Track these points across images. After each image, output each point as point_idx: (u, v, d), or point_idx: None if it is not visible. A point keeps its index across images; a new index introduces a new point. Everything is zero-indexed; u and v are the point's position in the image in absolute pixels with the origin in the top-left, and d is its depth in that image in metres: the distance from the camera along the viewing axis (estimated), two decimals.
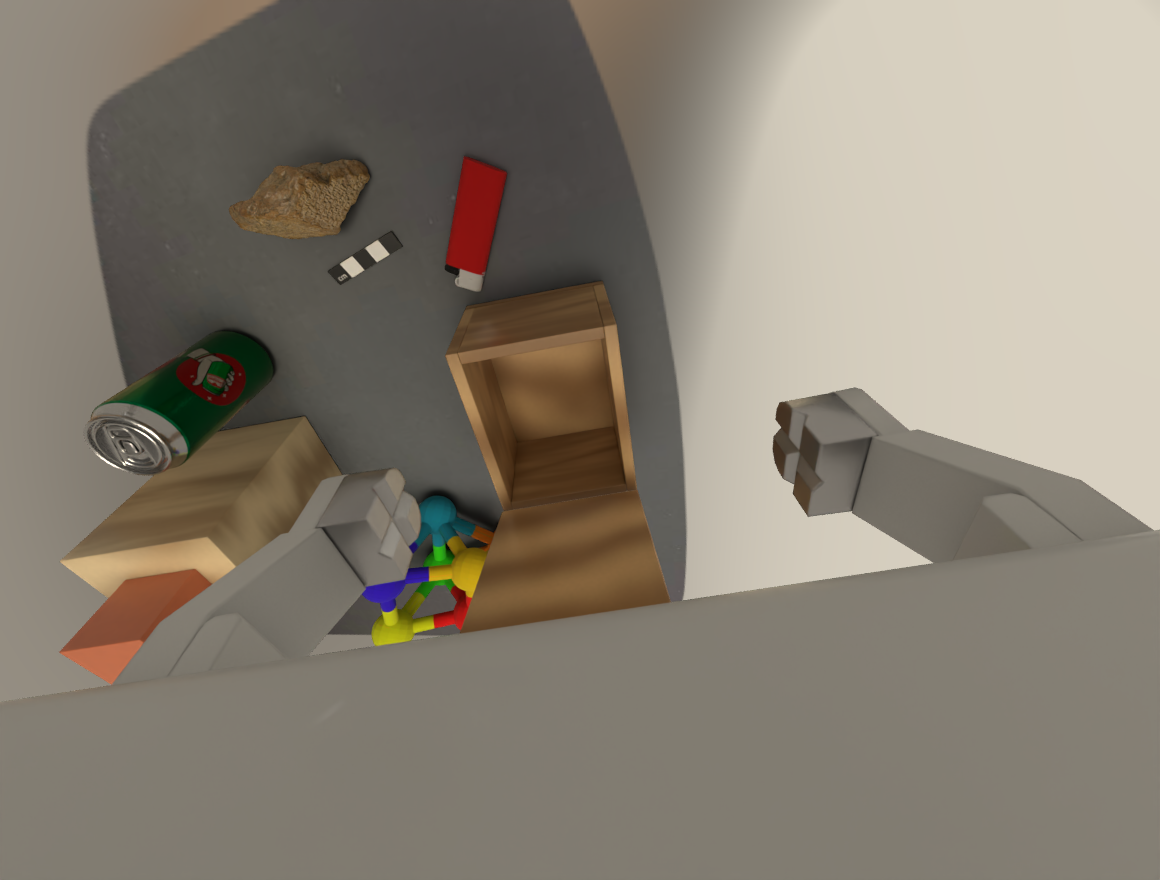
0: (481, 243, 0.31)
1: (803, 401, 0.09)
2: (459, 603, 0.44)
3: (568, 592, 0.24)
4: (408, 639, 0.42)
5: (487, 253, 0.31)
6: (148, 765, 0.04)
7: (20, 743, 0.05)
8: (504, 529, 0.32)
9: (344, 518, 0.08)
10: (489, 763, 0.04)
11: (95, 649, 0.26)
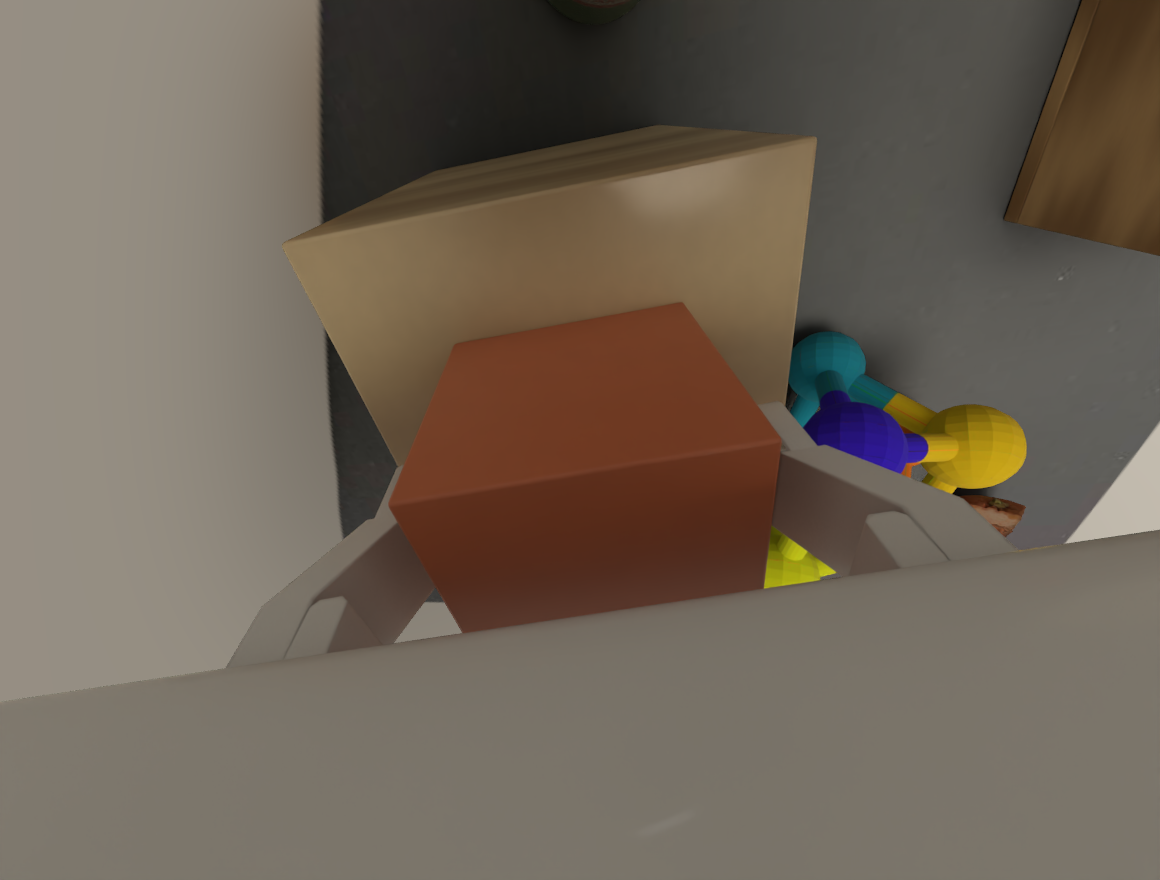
0: None
1: None
2: None
3: None
4: None
5: None
6: (148, 765, 0.04)
7: (21, 744, 0.05)
8: None
9: None
10: (489, 763, 0.04)
11: (550, 492, 0.06)
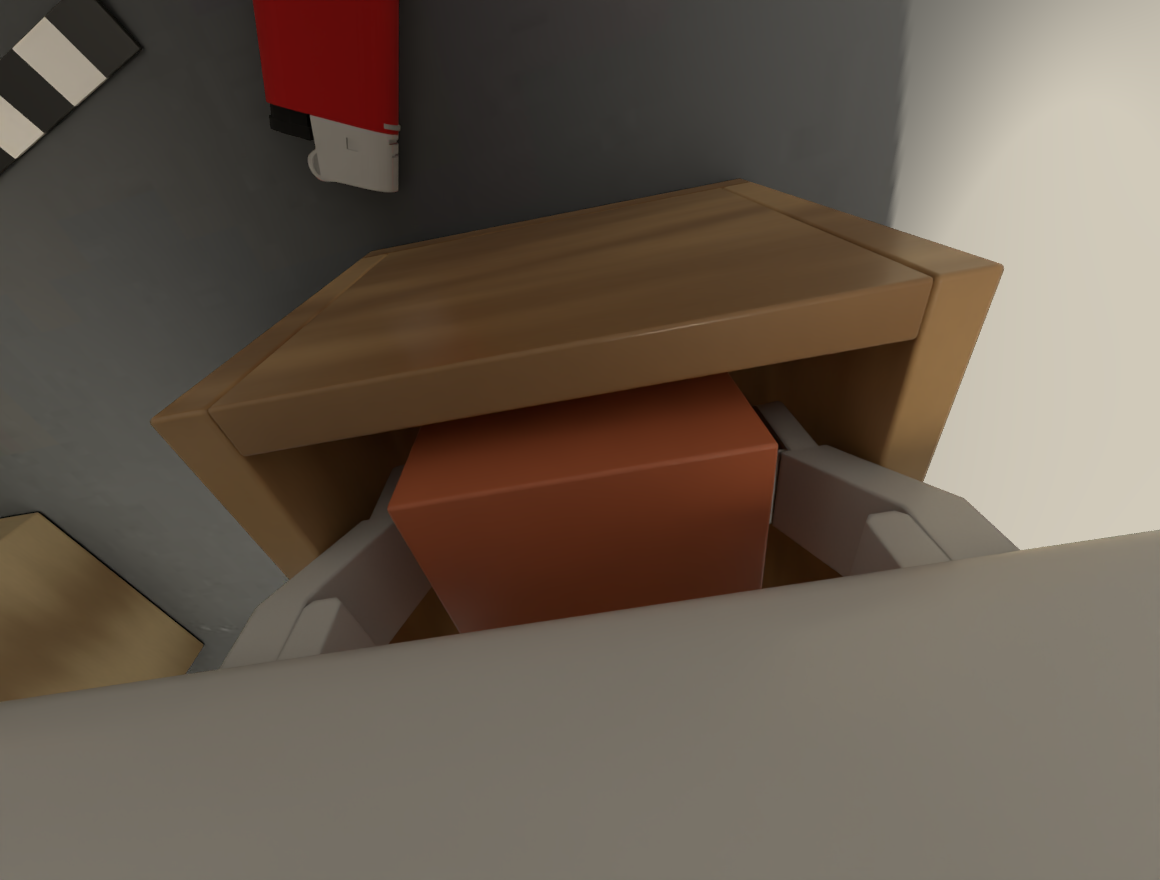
0: (356, 2, 0.09)
1: None
2: None
3: None
4: None
5: (387, 48, 0.10)
6: (148, 765, 0.04)
7: (21, 744, 0.05)
8: None
9: None
10: (489, 763, 0.04)
11: (549, 497, 0.06)
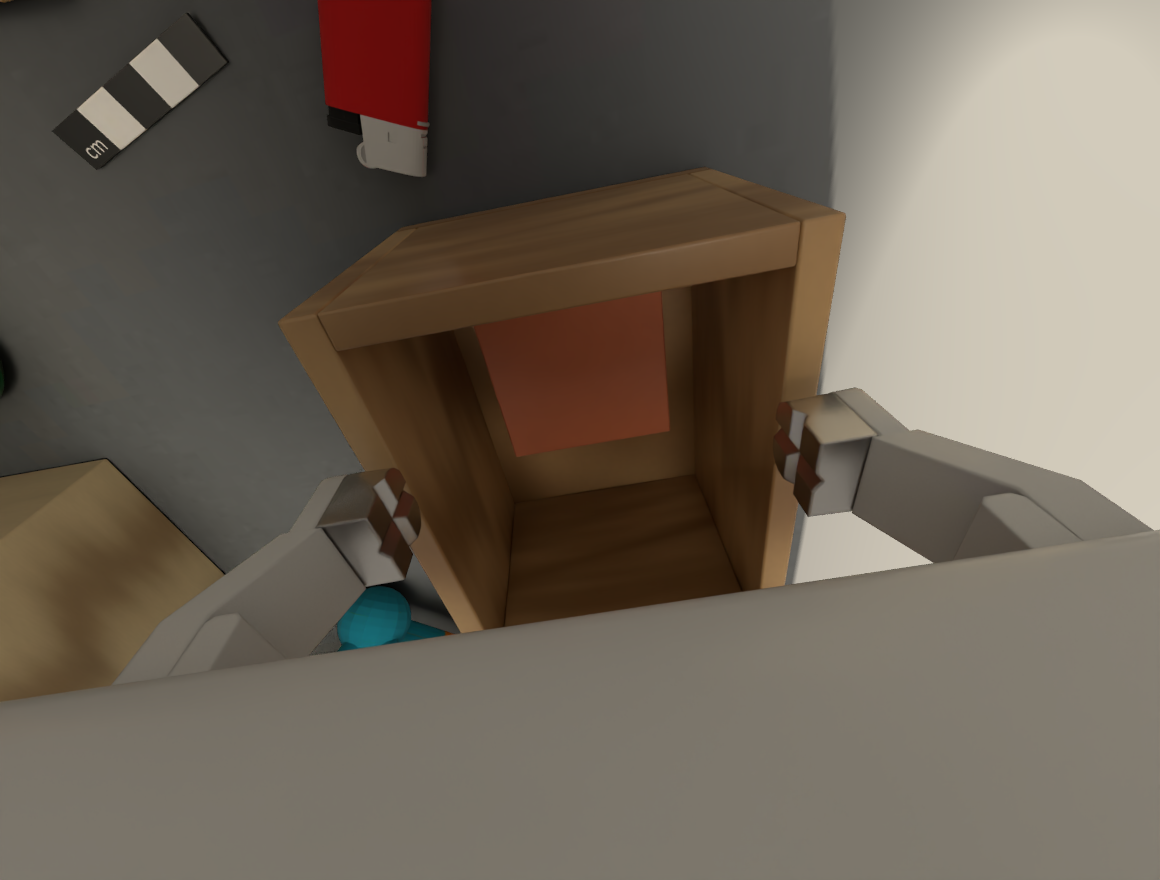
0: (400, 27, 0.12)
1: (803, 401, 0.09)
2: None
3: None
4: None
5: (422, 62, 0.12)
6: (148, 765, 0.04)
7: (22, 743, 0.05)
8: None
9: (344, 518, 0.08)
10: (489, 763, 0.04)
11: None
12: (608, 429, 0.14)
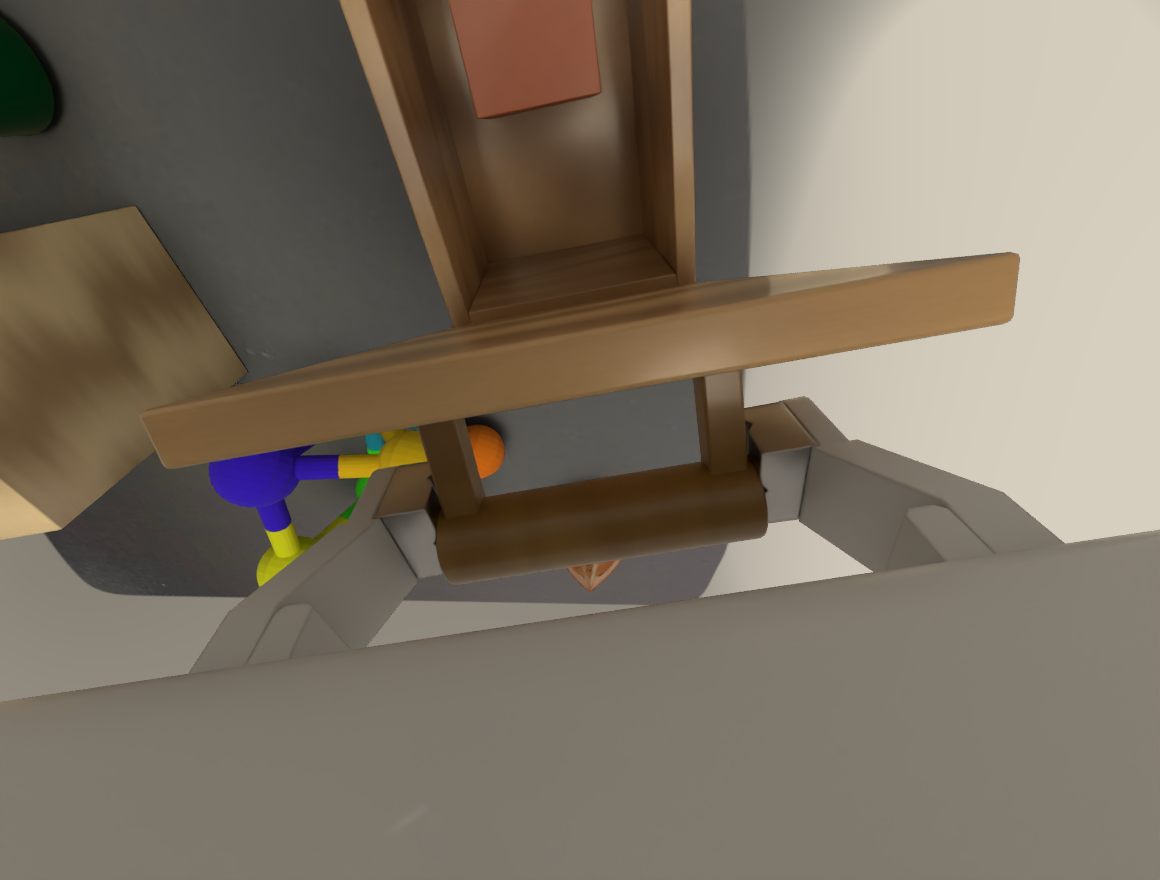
0: None
1: (751, 410, 0.09)
2: None
3: (574, 318, 0.08)
4: None
5: None
6: (148, 765, 0.04)
7: (21, 744, 0.05)
8: (446, 330, 0.16)
9: (402, 509, 0.08)
10: (489, 763, 0.04)
11: None
12: (551, 87, 0.17)
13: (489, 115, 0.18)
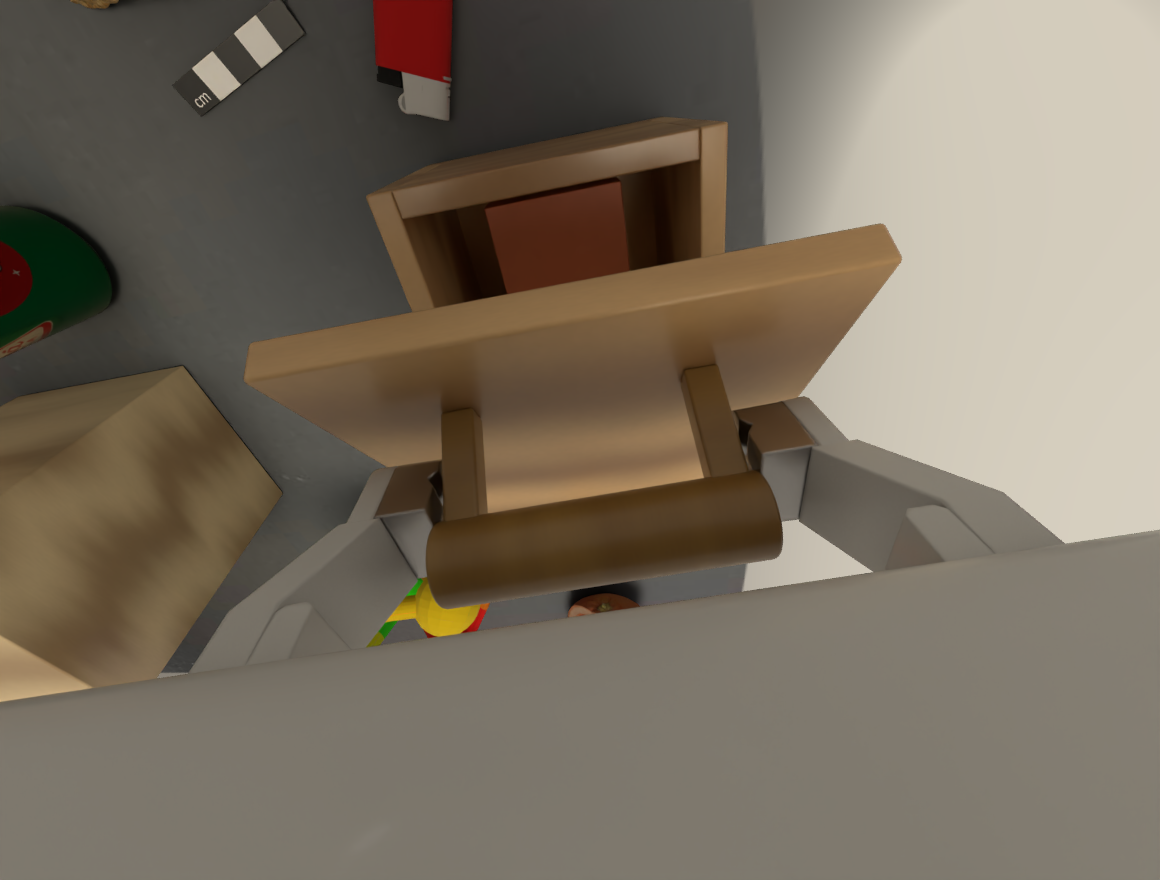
0: (431, 5, 0.16)
1: (751, 410, 0.09)
2: None
3: None
4: None
5: (446, 31, 0.17)
6: (148, 765, 0.04)
7: (21, 744, 0.05)
8: None
9: (401, 508, 0.08)
10: (489, 763, 0.04)
11: (541, 204, 0.16)
12: None
13: None
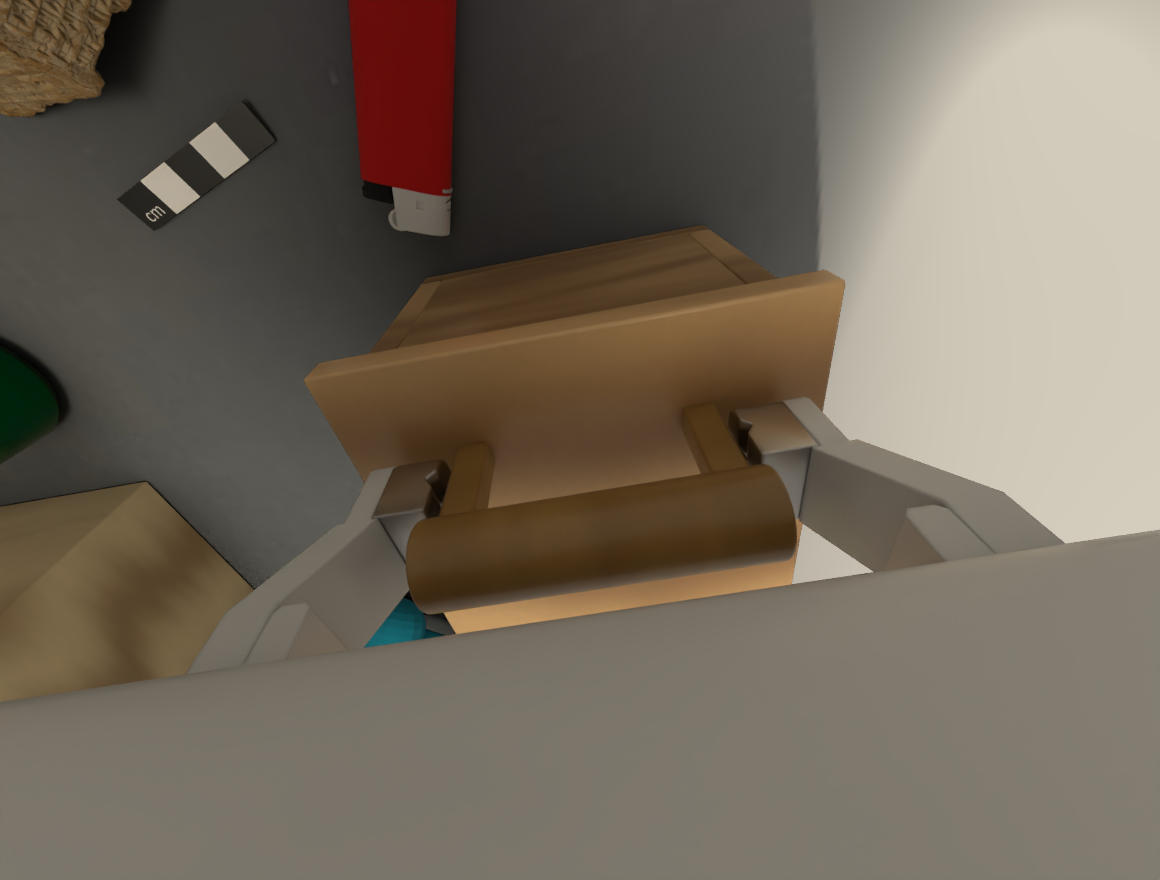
0: (427, 113, 0.13)
1: (751, 410, 0.09)
2: None
3: None
4: None
5: (446, 140, 0.14)
6: (148, 765, 0.04)
7: (21, 744, 0.05)
8: None
9: (399, 509, 0.08)
10: (489, 763, 0.04)
11: None
12: None
13: None
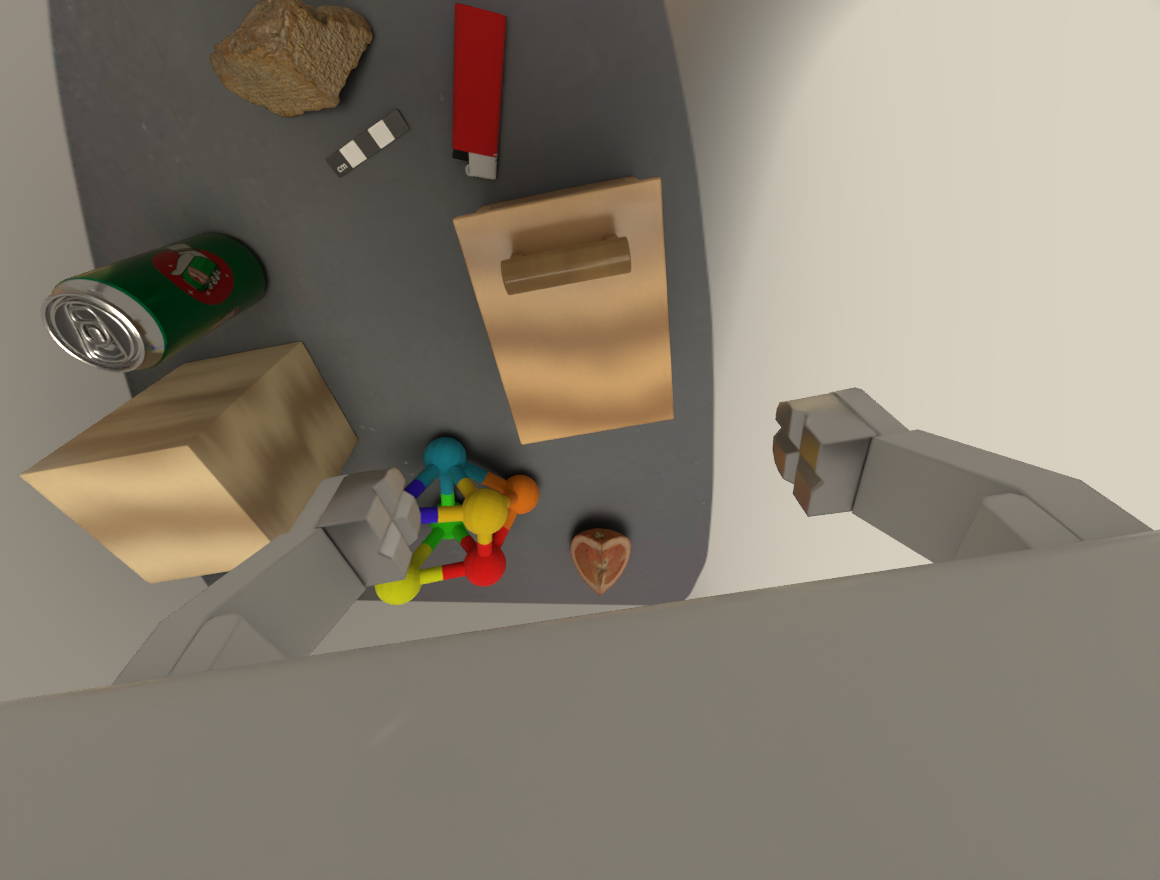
0: (488, 114, 0.27)
1: (803, 401, 0.09)
2: (470, 553, 0.40)
3: None
4: (415, 590, 0.38)
5: (496, 128, 0.28)
6: (148, 765, 0.04)
7: (22, 742, 0.05)
8: None
9: (344, 518, 0.08)
10: (489, 763, 0.04)
11: None
12: None
13: None
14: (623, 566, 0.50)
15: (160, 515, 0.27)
